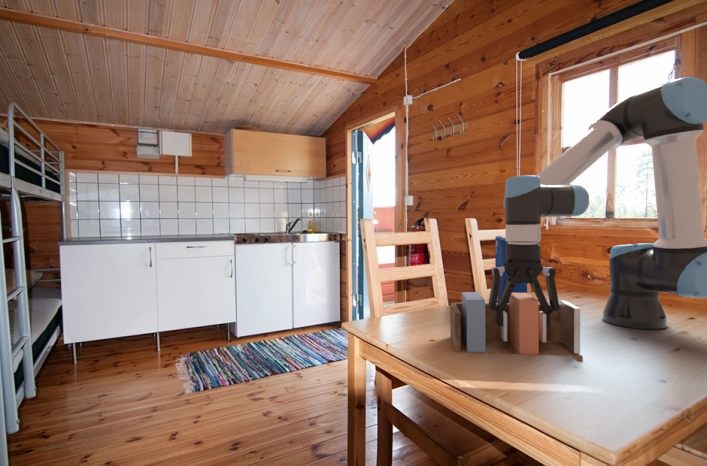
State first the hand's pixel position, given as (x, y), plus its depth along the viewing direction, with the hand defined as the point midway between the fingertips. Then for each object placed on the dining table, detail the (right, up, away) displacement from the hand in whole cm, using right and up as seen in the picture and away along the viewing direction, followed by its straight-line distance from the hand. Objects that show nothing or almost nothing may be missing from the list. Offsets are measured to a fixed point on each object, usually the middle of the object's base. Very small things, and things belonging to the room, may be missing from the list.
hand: (523, 339), depth 90 cm
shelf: (-2, -3, +1) cm, 4 cm away
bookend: (+10, -1, -1) cm, 10 cm away
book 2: (+14, -1, +40) cm, 42 cm away
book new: (0, -2, 0) cm, 2 cm away
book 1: (-11, -2, +2) cm, 11 cm away
